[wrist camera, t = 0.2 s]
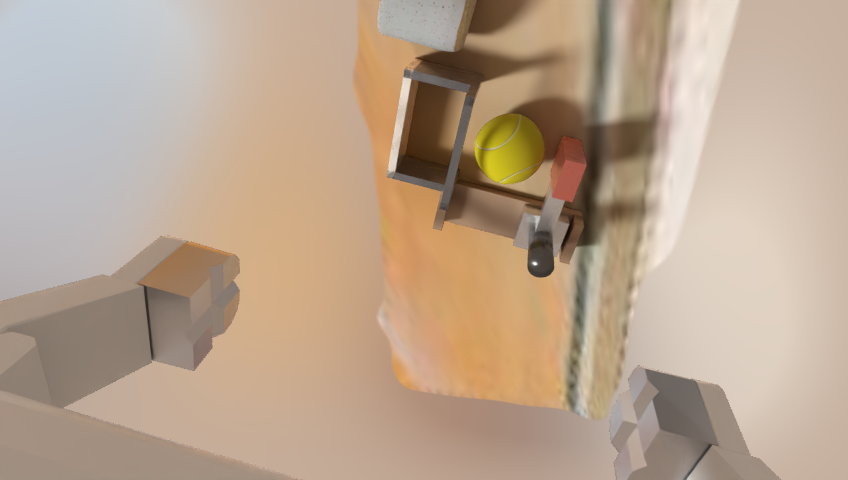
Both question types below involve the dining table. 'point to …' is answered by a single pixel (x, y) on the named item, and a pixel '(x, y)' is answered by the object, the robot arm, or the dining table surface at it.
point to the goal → (399, 162)
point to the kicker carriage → (551, 210)
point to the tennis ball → (509, 148)
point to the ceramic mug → (427, 21)
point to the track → (500, 214)
